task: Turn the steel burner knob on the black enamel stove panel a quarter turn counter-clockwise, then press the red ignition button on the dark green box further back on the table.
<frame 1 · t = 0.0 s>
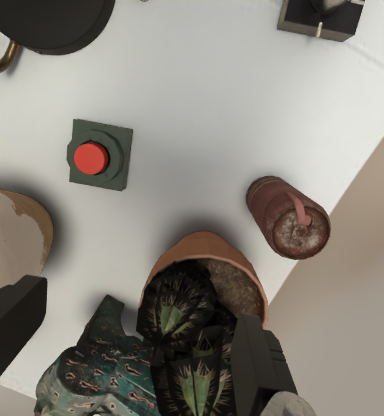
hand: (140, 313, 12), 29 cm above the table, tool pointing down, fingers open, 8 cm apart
ignition button: (91, 158, 35), point 4 cm above the table, slide at 0.1 cm
ceramic cat: (148, 324, 47), on the table
potted plant: (202, 258, 43), on the table
vase: (21, 225, 43), on the table
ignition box: (103, 154, 40), on the table
can: (267, 195, 41), on the table
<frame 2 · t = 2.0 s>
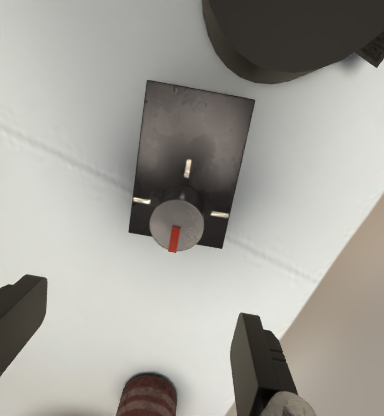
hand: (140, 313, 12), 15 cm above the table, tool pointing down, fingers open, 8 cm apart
stove panel: (188, 165, 26), on the table
burner knob: (178, 216, 21), point 5 cm above the table, hinge at 0.0°
can: (150, 391, 33), on the table
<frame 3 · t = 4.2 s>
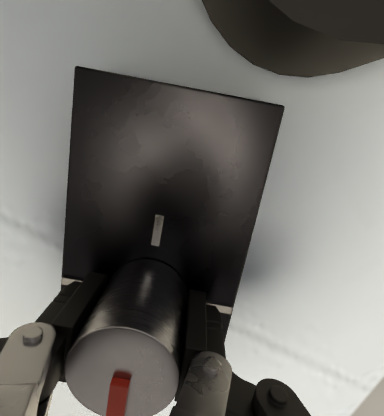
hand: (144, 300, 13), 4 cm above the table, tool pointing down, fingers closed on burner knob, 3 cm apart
stove panel: (165, 213, 15), on the table
burner knob: (136, 330, 11), point 5 cm above the table, hinge at -0.1°, touching gripper
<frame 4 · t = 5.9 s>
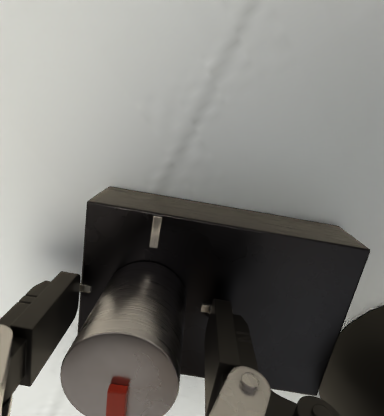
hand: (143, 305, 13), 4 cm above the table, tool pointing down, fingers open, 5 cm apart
stove panel: (210, 274, 16), on the table
burner knob: (134, 334, 11), point 5 cm above the table, hinge at 92.3°
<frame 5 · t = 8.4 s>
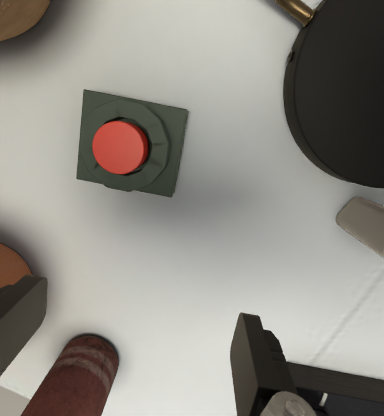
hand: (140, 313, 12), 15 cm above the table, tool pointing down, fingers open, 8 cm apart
power adapter: (366, 223, 26), on the table
ignition button: (121, 147, 21), point 4 cm above the table, slide at 0.1 cm
stove panel: (330, 401, 32), on the table
lamp: (369, 72, 23), on the table
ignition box: (135, 144, 25), on the table
can: (93, 355, 32), on the table
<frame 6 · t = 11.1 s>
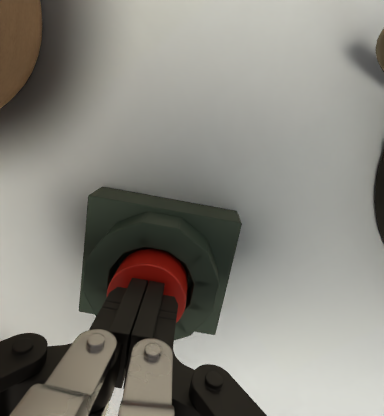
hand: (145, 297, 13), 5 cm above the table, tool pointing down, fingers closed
ignition button: (149, 290, 14), point 4 cm above the table, slide at -0.2 cm, touching gripper
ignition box: (161, 252, 18), on the table
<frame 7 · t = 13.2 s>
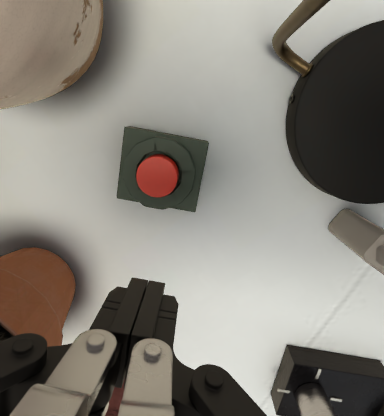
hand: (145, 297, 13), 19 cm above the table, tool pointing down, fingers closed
power adapter: (352, 230, 32), on the table
ignition button: (158, 175, 26), point 5 cm above the table, slide at 0.1 cm
potted plant: (39, 280, 35), on the table
stove panel: (323, 377, 38), on the table
lamp: (354, 110, 29), on the table
vase: (49, 26, 27), on the table
burner knob: (317, 414, 32), point 5 cm above the table, hinge at 92.3°
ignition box: (163, 167, 30), on the table
can: (124, 343, 37), on the table
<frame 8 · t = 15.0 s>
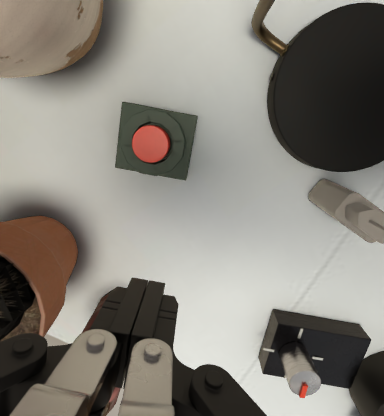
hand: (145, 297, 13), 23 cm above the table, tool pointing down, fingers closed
power adapter: (330, 199, 35), on the table
ignition button: (151, 143, 29), point 5 cm above the table, slide at 0.1 cm
potted plant: (45, 247, 38), on the table
stove panel: (307, 340, 41), on the table
lamp: (329, 87, 32), on the table
vase: (55, 12, 31), on the table
burner knob: (299, 368, 35), point 5 cm above the table, hinge at 92.3°
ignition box: (157, 141, 34), on the table
can: (122, 307, 40), on the table
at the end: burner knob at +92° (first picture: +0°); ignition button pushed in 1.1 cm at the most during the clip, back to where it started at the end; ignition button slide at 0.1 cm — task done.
